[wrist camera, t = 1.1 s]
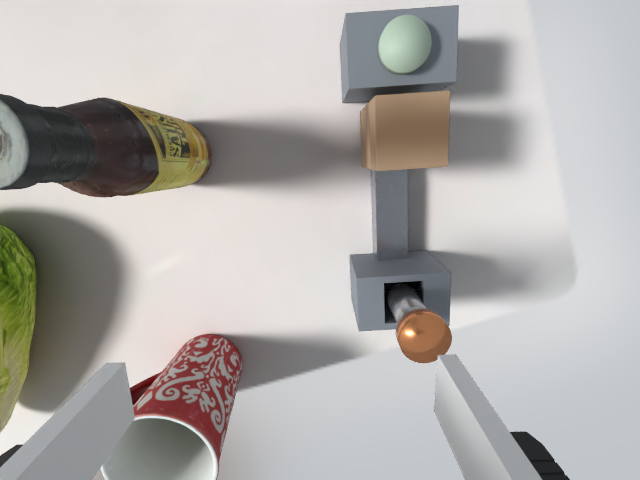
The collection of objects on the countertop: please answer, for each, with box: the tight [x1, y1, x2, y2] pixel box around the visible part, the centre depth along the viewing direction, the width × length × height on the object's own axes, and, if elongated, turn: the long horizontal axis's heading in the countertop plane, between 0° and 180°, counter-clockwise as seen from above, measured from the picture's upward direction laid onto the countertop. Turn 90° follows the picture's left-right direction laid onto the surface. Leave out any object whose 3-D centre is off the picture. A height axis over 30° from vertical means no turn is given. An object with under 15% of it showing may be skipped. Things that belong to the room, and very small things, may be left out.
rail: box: [369, 97, 408, 261], centre depth 33 cm, size 15×3×2 cm, turn 4°
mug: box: [101, 334, 242, 480], centre depth 32 cm, size 13×9×14 cm
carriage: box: [360, 90, 450, 171], centre depth 28 cm, size 5×5×9 cm
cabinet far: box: [350, 250, 451, 331], centre depth 33 cm, size 5×8×7 cm, turn 94°
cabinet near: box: [340, 5, 459, 103], centre depth 28 cm, size 5×8×8 cm, turn 94°
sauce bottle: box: [0, 94, 211, 197], centre depth 24 cm, size 7×6×20 cm
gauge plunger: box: [387, 284, 452, 363], centre depth 27 cm, size 4×4×7 cm
